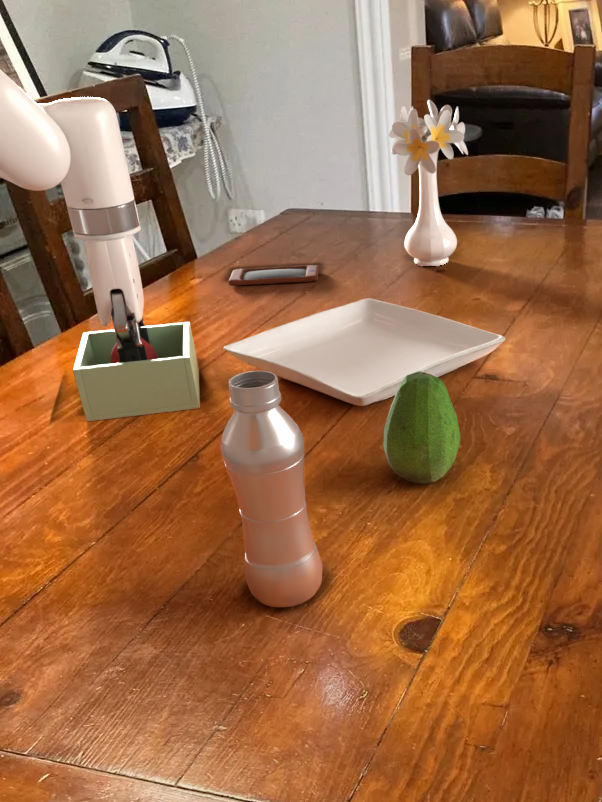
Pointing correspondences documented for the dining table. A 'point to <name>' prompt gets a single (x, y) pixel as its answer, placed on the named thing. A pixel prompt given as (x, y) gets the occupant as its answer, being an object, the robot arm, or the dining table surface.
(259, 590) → the plastic bottle
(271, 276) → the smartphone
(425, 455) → the avocado
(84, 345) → the veg bin
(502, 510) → the dining table surface
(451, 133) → the flower vase
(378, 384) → the square plate
